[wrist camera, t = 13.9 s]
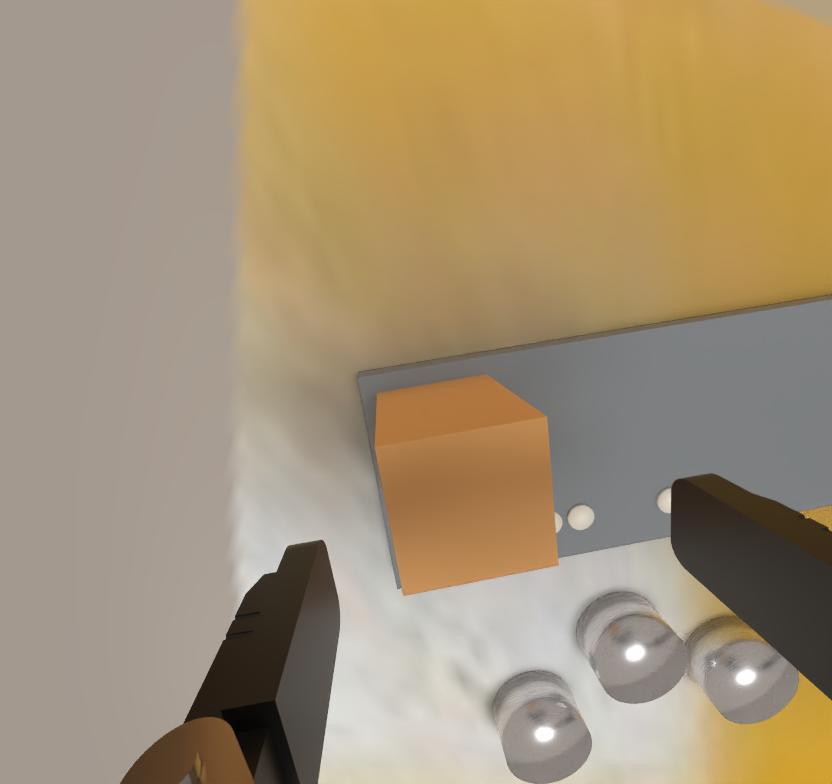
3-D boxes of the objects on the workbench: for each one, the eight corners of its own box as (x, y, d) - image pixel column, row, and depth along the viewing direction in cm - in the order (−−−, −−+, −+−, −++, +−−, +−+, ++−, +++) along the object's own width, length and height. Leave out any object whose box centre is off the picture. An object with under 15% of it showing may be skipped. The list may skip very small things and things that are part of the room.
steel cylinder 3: (755, 608, 22) (802, 646, 19) (751, 670, 23) (795, 714, 20) (680, 623, 22) (718, 664, 19) (679, 685, 23) (715, 731, 20)
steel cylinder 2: (651, 582, 21) (687, 620, 18) (653, 648, 22) (688, 692, 19) (572, 600, 20) (597, 640, 18) (578, 665, 22) (603, 712, 19)
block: (486, 374, 16) (547, 416, 10) (497, 474, 17) (558, 565, 11) (376, 392, 16) (374, 447, 10) (395, 493, 17) (403, 595, 11)
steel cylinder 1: (566, 661, 21) (590, 707, 19) (570, 722, 22) (593, 773, 20) (488, 677, 21) (502, 726, 19) (496, 738, 22) (510, 791, 20)
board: (838, 293, 18) (876, 292, 16) (817, 490, 20) (848, 504, 19) (358, 372, 17) (356, 378, 15) (396, 571, 19) (397, 592, 18)
